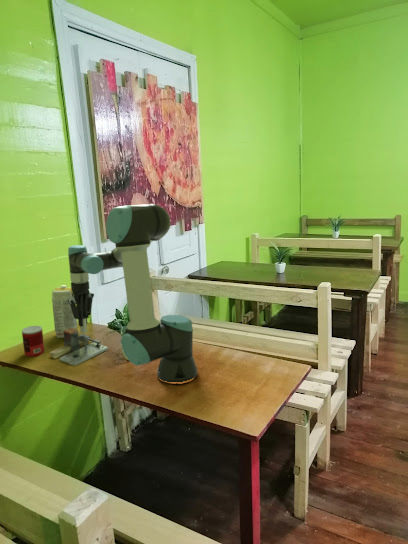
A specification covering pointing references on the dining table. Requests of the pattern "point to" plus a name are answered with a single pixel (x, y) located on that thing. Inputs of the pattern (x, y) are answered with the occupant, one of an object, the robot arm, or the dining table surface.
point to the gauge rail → (67, 348)
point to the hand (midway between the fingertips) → (83, 332)
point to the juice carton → (62, 310)
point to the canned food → (33, 341)
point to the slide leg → (73, 339)
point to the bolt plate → (83, 354)
